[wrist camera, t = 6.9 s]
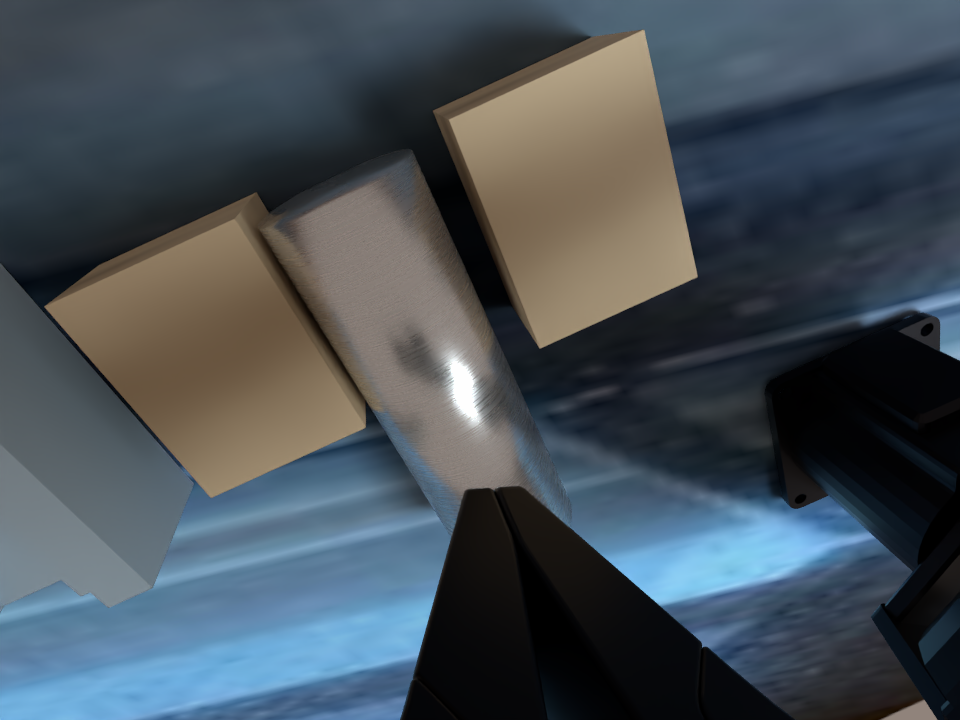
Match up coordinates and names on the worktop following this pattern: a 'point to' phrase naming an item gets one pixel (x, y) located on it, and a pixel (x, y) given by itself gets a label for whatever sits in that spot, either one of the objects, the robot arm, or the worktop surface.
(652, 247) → the beam
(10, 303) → the v block
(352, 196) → the light grey bar
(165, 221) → the worktop surface
